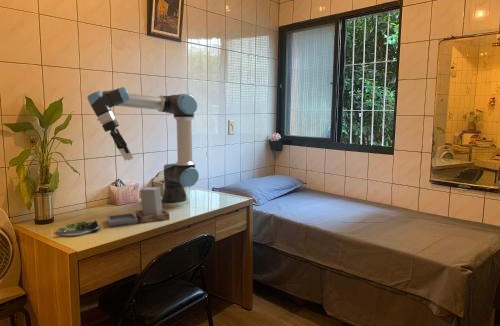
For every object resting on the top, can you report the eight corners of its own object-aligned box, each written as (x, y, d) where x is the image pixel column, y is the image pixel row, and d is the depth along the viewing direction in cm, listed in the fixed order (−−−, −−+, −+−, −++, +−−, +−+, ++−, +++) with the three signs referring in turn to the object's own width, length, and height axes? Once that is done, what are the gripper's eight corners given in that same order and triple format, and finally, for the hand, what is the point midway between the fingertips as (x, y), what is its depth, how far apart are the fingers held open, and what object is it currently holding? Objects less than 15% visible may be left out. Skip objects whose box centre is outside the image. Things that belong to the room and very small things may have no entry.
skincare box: (163, 216, 195) (161, 186, 193) (156, 220, 188) (154, 189, 186) (148, 215, 197) (147, 186, 195) (141, 219, 190) (139, 188, 188)
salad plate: (63, 242, 158) (62, 231, 157) (46, 233, 169) (45, 223, 169) (106, 231, 172) (106, 221, 172) (88, 224, 184) (87, 215, 183)
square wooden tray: (163, 213, 202) (162, 207, 202) (169, 219, 189) (169, 213, 189) (136, 216, 196) (135, 210, 195) (140, 223, 183) (140, 217, 183)
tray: (133, 217, 194) (133, 212, 193) (138, 223, 182) (137, 218, 182) (107, 220, 188) (106, 215, 188) (109, 227, 176) (109, 222, 176)
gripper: (99, 127, 197) (119, 162, 201) (103, 122, 174) (125, 162, 179) (113, 121, 200) (132, 156, 204) (118, 115, 177) (139, 155, 181)
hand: (129, 159), depth 191 cm, fingers open, 13 cm apart
